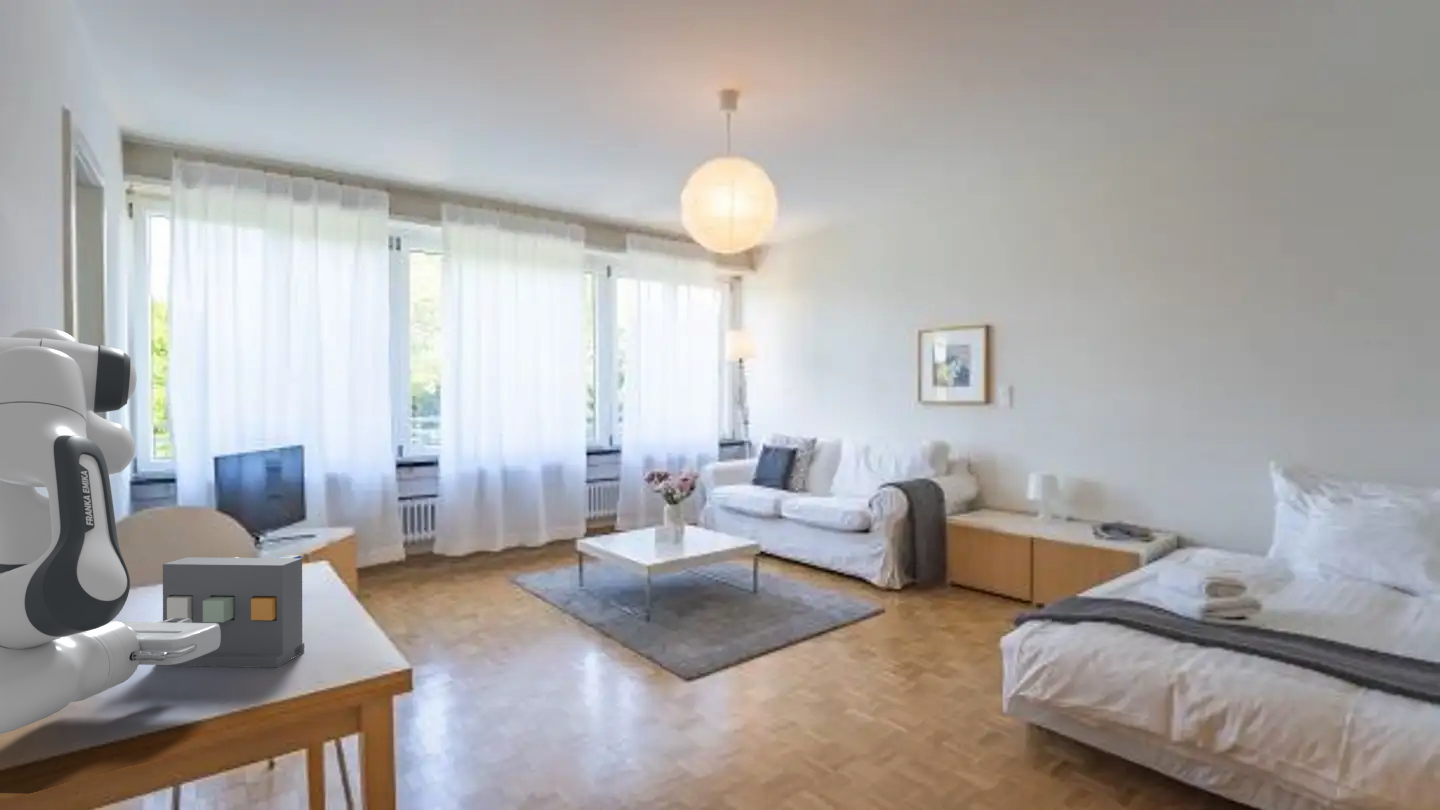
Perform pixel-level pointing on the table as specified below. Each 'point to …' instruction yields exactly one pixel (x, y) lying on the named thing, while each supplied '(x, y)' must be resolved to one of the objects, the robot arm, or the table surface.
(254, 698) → the table surface
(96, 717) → the table surface
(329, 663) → the table surface
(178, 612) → the button offwhite
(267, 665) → the button panel
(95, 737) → the table surface
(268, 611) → the button orange
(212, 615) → the button sage
